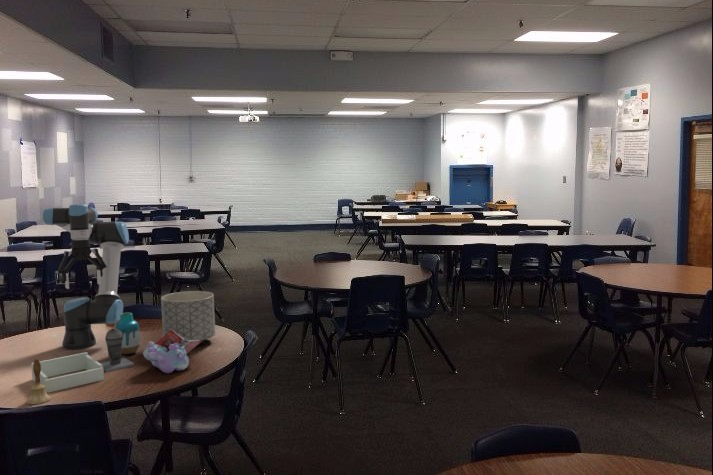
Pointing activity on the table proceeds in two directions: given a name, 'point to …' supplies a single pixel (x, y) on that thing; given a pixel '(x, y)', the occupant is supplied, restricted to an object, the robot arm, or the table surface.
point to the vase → (129, 333)
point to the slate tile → (123, 364)
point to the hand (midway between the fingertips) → (83, 286)
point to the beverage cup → (114, 345)
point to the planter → (189, 314)
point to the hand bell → (38, 387)
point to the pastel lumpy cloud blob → (170, 352)
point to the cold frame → (66, 366)
